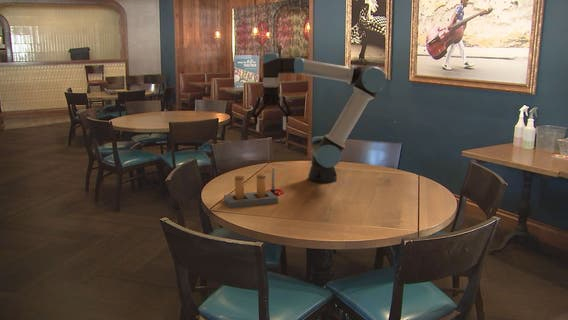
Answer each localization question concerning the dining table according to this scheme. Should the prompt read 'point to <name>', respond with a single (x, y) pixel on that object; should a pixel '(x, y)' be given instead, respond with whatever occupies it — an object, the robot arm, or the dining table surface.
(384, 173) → the dining table surface
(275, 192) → the tow hook
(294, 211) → the dining table surface
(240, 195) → the cylinder
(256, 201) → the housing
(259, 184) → the peg
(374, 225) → the dining table surface
